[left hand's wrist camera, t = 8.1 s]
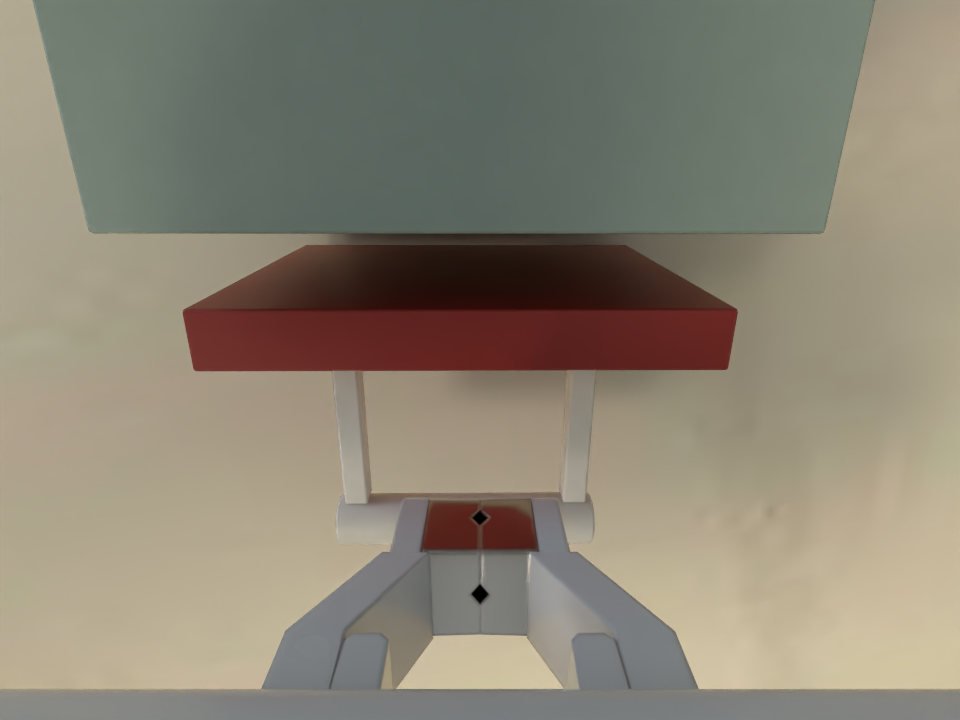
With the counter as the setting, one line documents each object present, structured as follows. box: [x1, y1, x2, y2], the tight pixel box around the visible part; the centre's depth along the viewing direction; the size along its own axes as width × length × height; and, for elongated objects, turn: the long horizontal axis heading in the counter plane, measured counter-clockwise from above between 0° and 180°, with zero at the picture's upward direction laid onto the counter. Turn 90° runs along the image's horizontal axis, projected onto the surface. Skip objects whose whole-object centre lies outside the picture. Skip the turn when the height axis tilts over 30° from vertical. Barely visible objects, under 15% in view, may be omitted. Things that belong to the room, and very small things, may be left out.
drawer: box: [183, 245, 738, 545], centre depth 12 cm, size 22×10×8 cm, turn 0°
